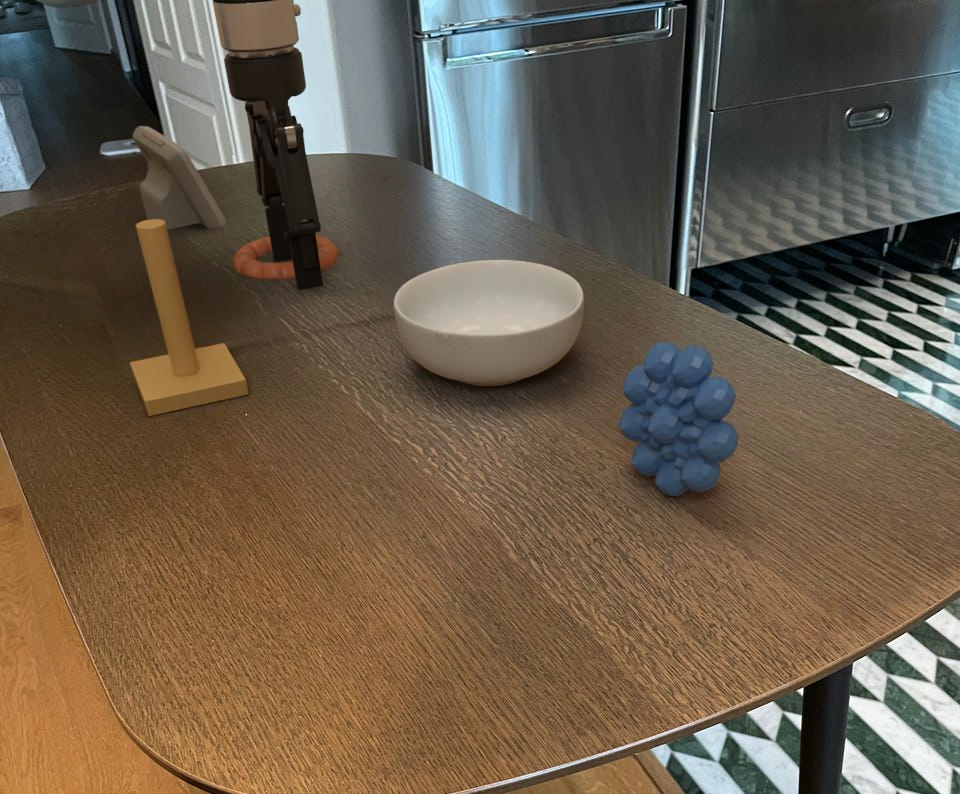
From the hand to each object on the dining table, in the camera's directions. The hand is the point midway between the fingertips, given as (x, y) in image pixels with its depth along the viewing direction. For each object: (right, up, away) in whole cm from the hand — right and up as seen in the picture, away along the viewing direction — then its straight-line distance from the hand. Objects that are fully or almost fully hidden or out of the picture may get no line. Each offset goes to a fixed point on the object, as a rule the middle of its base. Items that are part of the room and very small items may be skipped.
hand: (298, 280), depth 111 cm
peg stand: (-7, -16, -19) cm, 26 cm away
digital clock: (-17, +14, +18) cm, 29 cm away
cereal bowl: (+21, -15, -19) cm, 32 cm away
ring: (-2, +3, +3) cm, 5 cm away
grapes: (+35, -29, -36) cm, 58 cm away
